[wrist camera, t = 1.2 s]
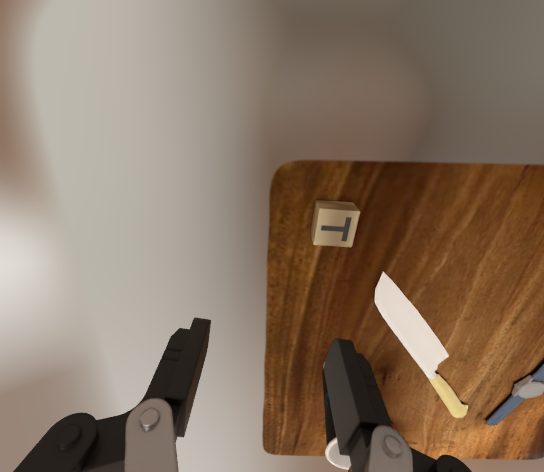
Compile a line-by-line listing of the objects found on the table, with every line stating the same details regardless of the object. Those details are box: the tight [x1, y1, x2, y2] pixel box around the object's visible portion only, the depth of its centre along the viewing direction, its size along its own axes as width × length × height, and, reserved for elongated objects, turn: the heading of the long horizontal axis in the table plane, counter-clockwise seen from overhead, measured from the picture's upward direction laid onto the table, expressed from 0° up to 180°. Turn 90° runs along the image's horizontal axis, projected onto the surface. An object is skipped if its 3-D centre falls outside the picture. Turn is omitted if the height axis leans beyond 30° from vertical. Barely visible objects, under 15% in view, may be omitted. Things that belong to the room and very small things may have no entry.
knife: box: [374, 272, 468, 418], centre depth 37 cm, size 1×34×5 cm
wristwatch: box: [486, 364, 544, 425], centre depth 40 cm, size 4×20×1 cm, turn 168°
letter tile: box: [310, 200, 360, 247], centre depth 27 cm, size 4×4×3 cm
